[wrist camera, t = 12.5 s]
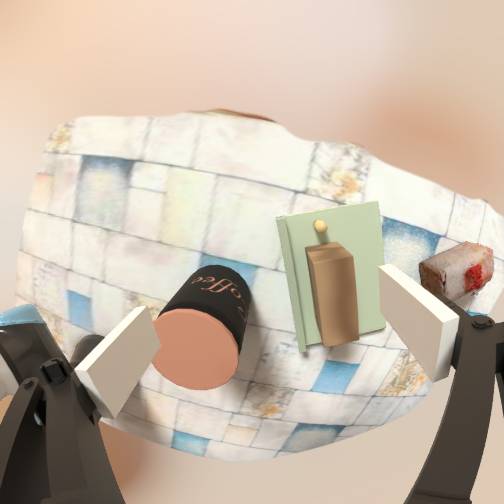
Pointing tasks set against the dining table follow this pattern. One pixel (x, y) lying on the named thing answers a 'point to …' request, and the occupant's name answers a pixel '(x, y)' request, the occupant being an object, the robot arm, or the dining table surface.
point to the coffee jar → (203, 329)
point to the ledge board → (354, 241)
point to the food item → (458, 270)
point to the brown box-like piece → (333, 292)
